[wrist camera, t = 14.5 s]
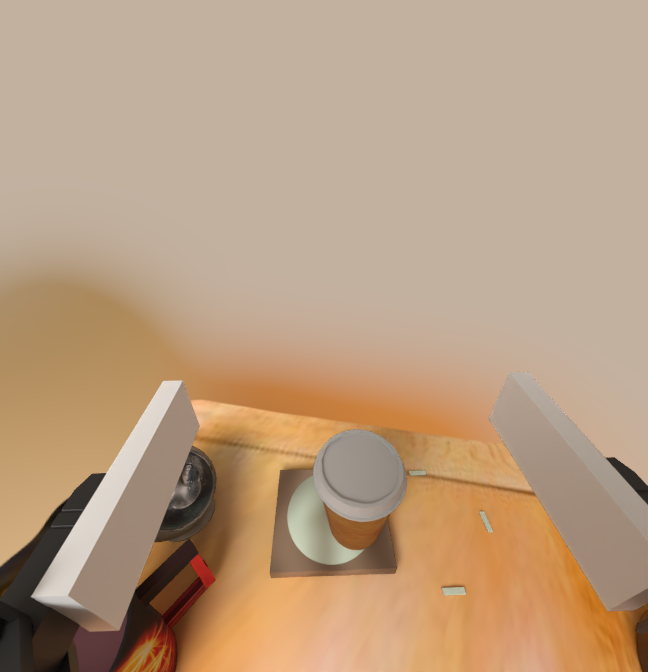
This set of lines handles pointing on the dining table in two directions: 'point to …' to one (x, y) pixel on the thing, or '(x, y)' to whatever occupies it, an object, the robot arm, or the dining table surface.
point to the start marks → (461, 589)
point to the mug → (145, 623)
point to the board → (318, 536)
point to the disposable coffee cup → (359, 485)
